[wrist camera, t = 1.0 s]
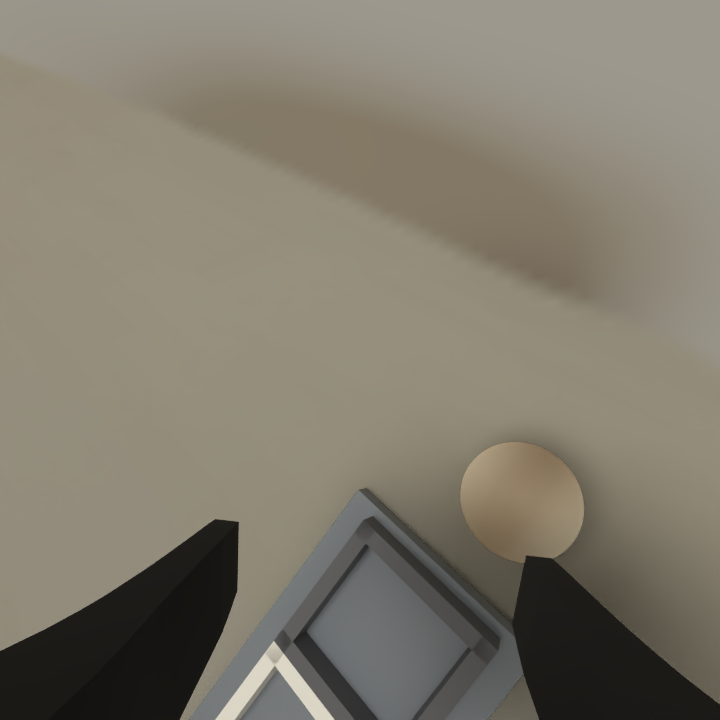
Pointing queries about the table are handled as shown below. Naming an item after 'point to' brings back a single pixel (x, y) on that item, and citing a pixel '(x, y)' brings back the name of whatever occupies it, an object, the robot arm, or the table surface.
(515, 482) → the beech pin
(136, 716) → the robot arm
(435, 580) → the gray compartment tray
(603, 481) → the table surface
